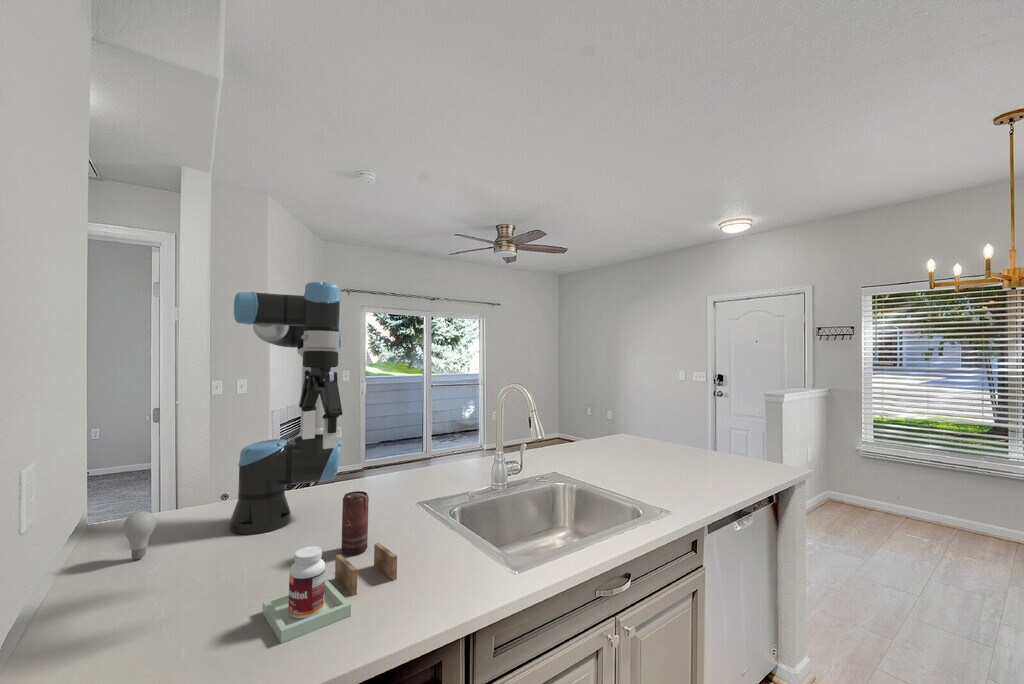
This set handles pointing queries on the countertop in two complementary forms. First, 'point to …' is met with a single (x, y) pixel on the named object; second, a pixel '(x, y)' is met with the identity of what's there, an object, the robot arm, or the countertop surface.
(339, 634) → the countertop surface
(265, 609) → the tray
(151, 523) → the lightbulb
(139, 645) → the countertop surface
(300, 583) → the pill bottle
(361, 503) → the can
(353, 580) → the rack
